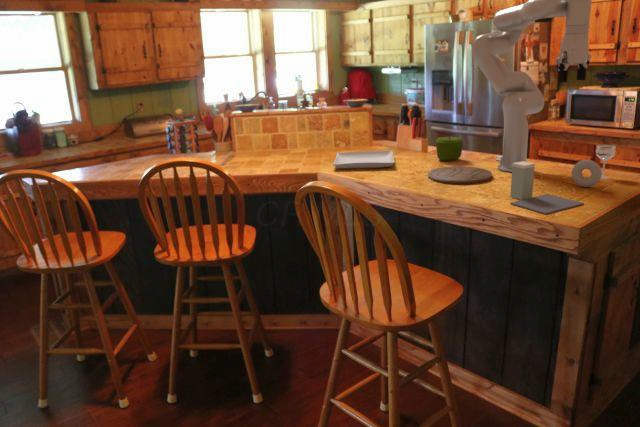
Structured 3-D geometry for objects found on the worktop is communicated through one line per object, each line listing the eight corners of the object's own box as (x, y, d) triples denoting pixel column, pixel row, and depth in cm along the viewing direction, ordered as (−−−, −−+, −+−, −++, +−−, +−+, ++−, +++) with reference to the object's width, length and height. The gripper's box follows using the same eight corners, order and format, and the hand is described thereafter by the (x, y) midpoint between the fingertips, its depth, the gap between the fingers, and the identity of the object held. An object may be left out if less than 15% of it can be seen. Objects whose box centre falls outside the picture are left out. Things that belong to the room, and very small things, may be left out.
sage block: (510, 197, 184) (512, 163, 181) (520, 194, 186) (522, 161, 183) (521, 200, 180) (524, 165, 176) (532, 197, 182) (534, 163, 179)
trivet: (498, 173, 219) (498, 168, 218) (482, 188, 198) (483, 183, 198) (439, 168, 231) (439, 164, 230) (419, 182, 211) (419, 177, 210)
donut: (601, 187, 190) (604, 160, 187) (598, 189, 188) (601, 162, 185) (572, 184, 197) (574, 157, 194) (568, 186, 194) (571, 159, 191)
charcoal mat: (510, 204, 176) (510, 202, 176) (547, 195, 184) (547, 193, 184) (545, 214, 164) (545, 213, 164) (583, 204, 172) (583, 203, 172)
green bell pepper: (457, 163, 237) (458, 138, 234) (431, 161, 243) (431, 137, 240) (465, 158, 247) (466, 134, 244) (440, 156, 253) (441, 132, 250)
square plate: (392, 157, 258) (392, 149, 257) (394, 170, 232) (394, 161, 231) (337, 158, 261) (337, 151, 260) (333, 171, 235) (332, 163, 234)
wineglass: (607, 180, 199) (610, 148, 196) (589, 177, 205) (592, 146, 201) (616, 177, 203) (619, 146, 199) (598, 174, 208) (601, 143, 205)
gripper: (583, 30, 193) (578, 79, 198) (550, 32, 186) (546, 82, 191) (602, 29, 187) (596, 79, 192) (569, 31, 179) (564, 83, 184)
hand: (571, 81), depth 191 cm, fingers open, 9 cm apart
